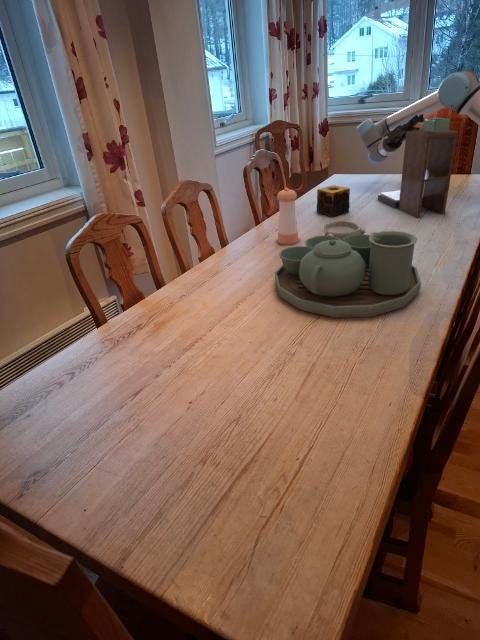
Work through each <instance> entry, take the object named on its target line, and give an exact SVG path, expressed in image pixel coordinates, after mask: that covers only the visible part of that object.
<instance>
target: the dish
mask: <svg viewBox="0 0 480 640" xmlns="http://www.w3.org/2000/svg"><path fill="white" fill-rule="evenodd" d="M365 233H366V229H365V228H362V226H361V225H359V224H358V223H356V222H354V221H349V220H335V221H334V220H333V221H330V222H327V223H325V224H324V226H323V235H322V236H332V237H337V238H339V239H340V240H342V241H343V238H344V237H349V236H352V235H365Z"/></svg>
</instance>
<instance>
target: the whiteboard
mask: <svg viewBox="0 0 480 640" xmlns="http://www.w3.org/2000/svg"><path fill="white" fill-rule="evenodd" d="M400 190H401V189H398V190H391V191H390V190H389V191H384V192H383V191H382V192H379V194H378V195H377V200H378V201H379V202H381V203H383V204H386V205H388V206H389V207H392V208H393V209H399V199H400ZM422 201H423V198H422Z"/></svg>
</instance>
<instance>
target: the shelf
mask: <svg viewBox="0 0 480 640" xmlns="http://www.w3.org/2000/svg"><path fill="white" fill-rule="evenodd" d="M458 133H459V131H457V130H450V129H449V130H444V131H436V132H432V131H426V130H423V128H421V129H420V130H415V131H407V132H406V140H404V141H405V142H404V151H403V161H402V162H403V163H402V171H401V181H400V189H399V190H400V199H399V208H398V209H399V210H401V211H403V212H405V213H407V214H409V215H411V216H413V217H414V218H415V217H416V218H421V213H422V207H423V206H424V207H425V208H428V209H430V210H432V211H435V212H438V213H439V214H441V215H444V214H446V210H447V209H446V208H447V201H448V196H449V189H450V184H451V178H452V170H453V165H454V159H455V152H456V146H457V139H458ZM422 198H423V201H422Z"/></svg>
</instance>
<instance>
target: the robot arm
mask: <svg viewBox="0 0 480 640" xmlns="http://www.w3.org/2000/svg"><path fill="white" fill-rule="evenodd" d="M445 108H448V109H452V110H453V111H454V112H455V113H456V114H458V115H459V116H464V115H466V116H468V117H469V118H470V119H471V120H472V121H474V122H475V123H476V124H477V126H479V127H480V77H479V76H478V75H477V73H475V72H474V71H471V70H463V71H457V72H453V73H450V74H449V75H447V76H445V78H443V80H442V81H441V82H440V84H439V86H438V89H437V90H436V91H435V92H433V93H431V94H429V95H427V96H425V97H423V98H421V99H419V100H417V101H416V102H414V103H412V104H410V105H408V106H406V107H404V108H403V109H400V110H399V111H397V112H395V113H393V114H391V115H389V116H387V117H385V118H383V119H382V120H379V121H377V122H373V120H372V119H370V118H368V119H365V120H364V121H362V122H361V123H360V124H359V125H358V126H357V127H356V132H357V133H358V136H359V137H360V139H361V141H362V143H363V144H364V146H365V148H366V149H367V151H368V153H367V160H368V161H369V163H370V164H372V165H379V164H381V163H382V162H384V161H385V160H386V159H387V158H388V157H390V156H391V155H392V154H393V153H395V152H396V151H397V150H398V149H400V148H401V147H402V144H403V142H404V141H406V132H407V131H415V130H421V128H417V127H413V126H414V125H415V124H417V123H418V122H421V123H424V120H425V118H426V117H428V116H431V115H432V114H434V113H436V112H439V111H441V110H442V109H443V110H444V109H445Z"/></svg>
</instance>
